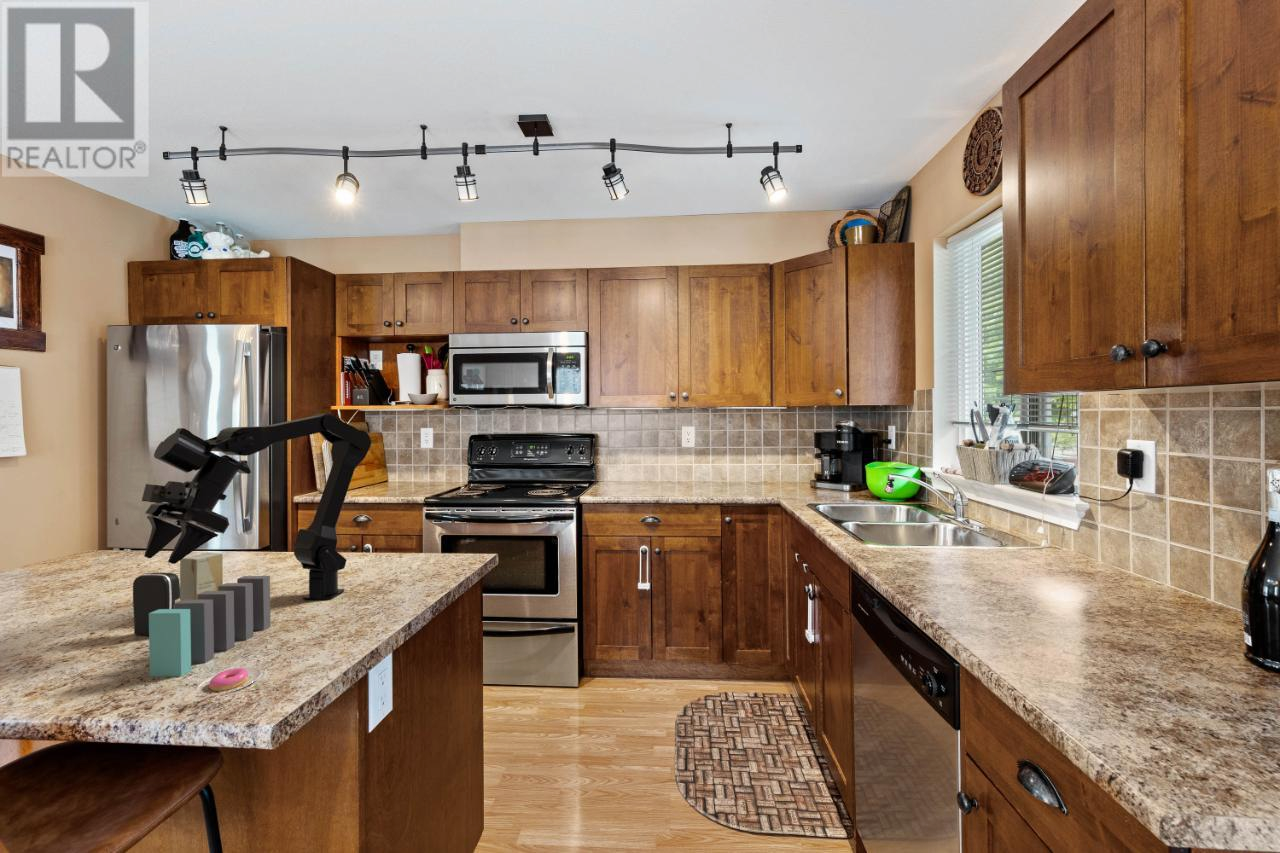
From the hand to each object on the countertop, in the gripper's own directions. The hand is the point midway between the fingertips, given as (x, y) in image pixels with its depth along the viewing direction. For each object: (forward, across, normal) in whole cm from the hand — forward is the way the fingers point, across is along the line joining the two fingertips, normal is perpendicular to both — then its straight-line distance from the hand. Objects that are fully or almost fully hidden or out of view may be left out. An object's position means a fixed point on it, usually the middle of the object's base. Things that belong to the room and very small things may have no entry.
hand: (158, 560), depth 107 cm
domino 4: (+8, +11, +14) cm, 20 cm away
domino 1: (+16, +18, +3) cm, 24 cm away
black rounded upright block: (+12, -6, +10) cm, 16 cm away
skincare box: (+6, -11, +18) cm, 22 cm away
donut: (+14, +29, +7) cm, 33 cm away
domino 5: (+6, +8, +18) cm, 21 cm away
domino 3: (+11, +13, +11) cm, 20 cm away
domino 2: (+13, +16, +7) cm, 22 cm away
